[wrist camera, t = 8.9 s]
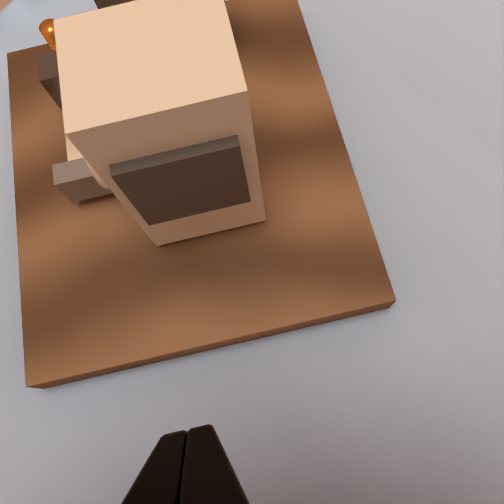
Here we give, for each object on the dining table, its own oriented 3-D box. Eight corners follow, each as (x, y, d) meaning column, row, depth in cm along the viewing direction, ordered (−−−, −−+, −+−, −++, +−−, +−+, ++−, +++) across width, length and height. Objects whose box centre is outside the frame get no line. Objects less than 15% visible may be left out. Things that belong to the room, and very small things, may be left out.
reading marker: (121, 98, 24) (85, 31, 19) (63, 112, 24) (14, 48, 19) (118, 74, 24) (81, 4, 20) (60, 88, 24) (12, 20, 20)
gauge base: (389, 307, 21) (437, 255, 14) (43, 388, 21) (-80, 376, 14) (292, 7, 27) (291, -135, 20) (22, 71, 27) (-73, -48, 20)
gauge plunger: (267, 228, 21) (250, 102, 12) (81, 272, 21) (-63, 177, 13) (247, 144, 22) (218, -20, 14) (72, 185, 22) (-63, 47, 14)
